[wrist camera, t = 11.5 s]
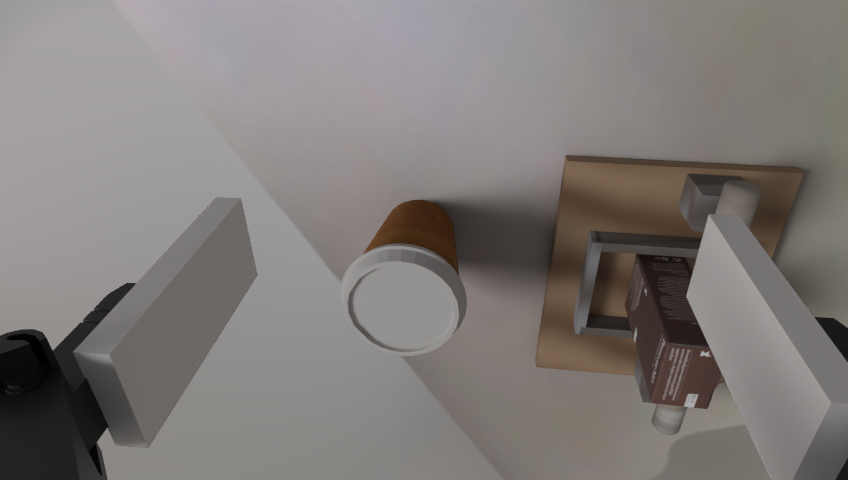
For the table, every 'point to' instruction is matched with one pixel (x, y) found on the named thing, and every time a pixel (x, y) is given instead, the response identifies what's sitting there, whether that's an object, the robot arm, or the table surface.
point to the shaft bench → (639, 249)
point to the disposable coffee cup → (406, 283)
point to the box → (669, 333)
